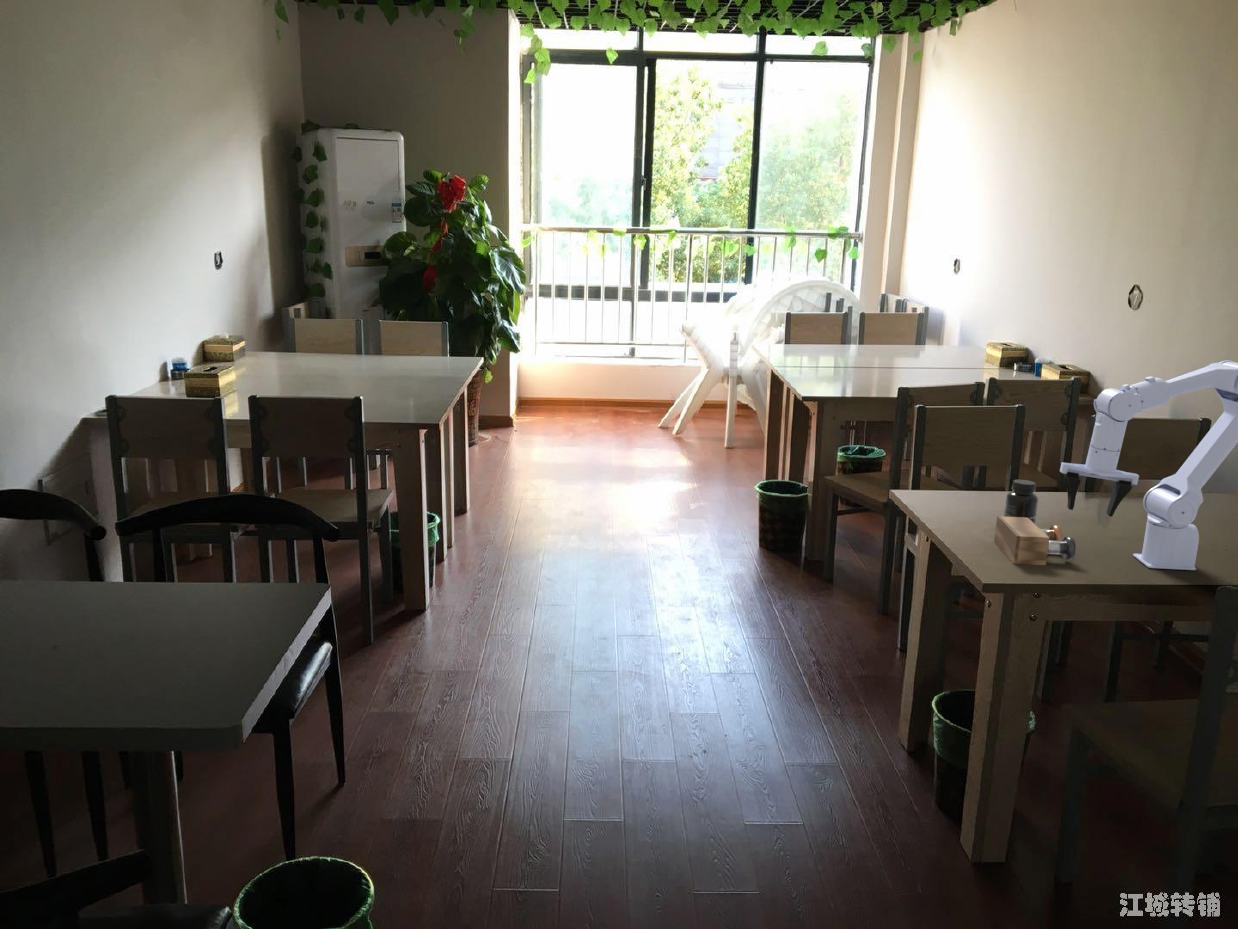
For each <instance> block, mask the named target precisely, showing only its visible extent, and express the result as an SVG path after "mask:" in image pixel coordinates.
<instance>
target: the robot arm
mask: <svg viewBox="0 0 1238 929" xmlns="http://www.w3.org/2000/svg"><path fill="white" fill-rule="evenodd" d="M1209 388H1213V389H1214V391H1215V393H1216V394H1217V396H1218V397H1219V400H1220V401H1221V403H1222V407H1223V412H1222V414H1221V415H1220V416H1219V418H1218V419H1217V420H1216V422H1215V423H1214V424H1213V425H1212V427H1211V428H1210V429H1209V431H1208V432H1207V433H1206V434H1205V436H1204V437H1203V438H1202V439H1201V441H1199V443H1198V445H1197V446H1196V447H1195V448H1194V449H1193V451H1192V452H1191V454H1190V455H1189V456H1188V457H1187V459H1186V460H1185V461H1184V462H1183V464H1181V465H1182V466H1180V467H1179V469H1178V470H1177V471H1176V472H1175V473H1174V474H1172V475H1170V476H1167V477H1164V478H1162V479H1161V481H1160V482H1159V483H1158V484H1156V485H1155V486H1153V487H1152V488H1150V489H1149V490H1148V491H1147V492H1146V493H1145V494H1144V497H1143V500H1142V505H1143V508H1144V510H1145V511H1146V513H1147V514H1146V518H1147V521H1146V525H1145V532H1144V538H1143V539H1144V540H1143V545H1142V551H1141V553H1133V557H1135V558H1136V559H1137V560H1138V561H1139V562H1141V563H1142V564H1143V565H1145V566H1146V567H1147V568H1149V569H1160V570H1161V569H1162V570H1163V569H1164V570H1182V571H1184V570H1186V571H1196V570H1197V568H1196V567H1195V565H1196V560H1197V554H1198V548H1199V543H1200V533H1199V530H1198V527H1197V526H1196V525H1195V524H1192V523H1193V522H1194V520H1195V519H1196V518H1197V514H1198V510H1199V509H1200V506H1201V505H1202V503H1203V502H1204V496H1203V493H1202V488H1203V487H1204V486H1205V484H1207V482H1208V481H1209V480H1210V478H1211V477H1212V476H1213V475H1214V473H1215V472H1216V471H1217V469H1219V467H1220V466H1221V464H1222V463H1223V462H1224V461H1225V460H1226V458H1227V457H1228V456H1229V454H1230V453H1231V452H1232V450H1233V449H1235V447H1236V445H1237V444H1238V362H1236V361H1233V360H1230V359H1228V360H1227V359H1226V360H1222V361H1220V362H1211V363H1210V364H1208V365H1207V366H1205V367H1204V366H1203V367H1202V368H1199V369H1196V370H1193V371H1190V372H1187V373H1185V374H1181V375H1179V376H1176V377H1173V378H1171V379H1167V380H1164V379H1163V378H1160V377H1154V376H1152V375H1150V376H1146V377H1145V378H1144V381H1140V382H1137V383H1132V384H1128V383H1126V384H1122V386H1121V387H1120V389H1117V388H1113V387H1112V388H1111V387H1110V388H1106V389H1103V390H1102V391H1101V392H1100V393H1099V394H1098V395H1097V398H1096V399H1094V400H1093V408H1094V410H1095V412H1096V414H1095V415H1096V416H1095V422H1094V426H1093V430H1092V435H1091V439H1090V444H1089V446H1088V447H1089V448H1088V452H1087V456H1086V461H1085V464H1082V463H1081V464H1080V463H1071V462H1063V461H1062V462H1061V463H1060V464H1061V465H1060V468H1059V472H1060V473H1061V474H1063V476H1064V481H1065V484H1066V491H1067V509H1068V510H1071V511H1073V510H1074V508H1075V502H1076V497H1077V492H1078V490H1079V486H1080V484H1081V479H1080V476H1083V477H1089V478H1096V479H1101V480H1106V481H1107V480H1108V481H1112V488H1111V495H1110V499H1109V503H1108V506H1107V510H1106V515H1107V516H1108V517H1113V516H1114V514H1115V512H1116V510H1117V508H1118V506H1119V505H1120V503H1121V502H1122V501H1123V500H1124V498H1125V497H1126V496H1127V495H1128V494H1129V493H1130V492H1131V491H1132V488H1133V485H1135V486H1137V485H1138V483H1139V478H1140V475H1139V474H1137V473H1134V472H1127V471H1124V470H1119V469H1117V467H1118V463H1119V459H1120V454H1121V451H1122V450H1121V449H1122V447H1123V442H1124V439H1125V438H1124V437H1125V435H1126V430H1127V425H1128V423H1129V422H1128V421H1130V420H1131V419H1133V418H1134V417H1135V416H1136V414H1138V413H1142V412H1146V411H1148V410H1152V409H1156V408H1158V407H1162V406H1165V405H1167V404H1168V403H1169V402H1170V400H1171V398H1172V397H1175V396H1180V395H1184V394H1188V393H1192V392H1196V391H1201V390H1205V389H1209Z"/></svg>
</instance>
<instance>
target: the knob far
mask: <svg viewBox="0 0 1238 929" xmlns="http://www.w3.org/2000/svg"><path fill="white" fill-rule="evenodd" d="M1040 529H1041V530H1042V531H1043V532H1044V533H1045V534H1046V535H1047V536H1048V537H1049V540H1050V541H1062V540H1063V539H1062V538H1063V532H1062V528H1061V526H1060V525H1050V527H1049V529H1048V528H1040Z"/></svg>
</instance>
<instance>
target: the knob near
mask: <svg viewBox="0 0 1238 929" xmlns="http://www.w3.org/2000/svg"><path fill="white" fill-rule="evenodd" d="M1062 538H1063V539H1062V540H1061V541H1050V540H1049V545H1048V552H1047V555H1061V556H1062V558H1063V559H1064V560H1073V559H1074V557H1075V555H1076V547H1077V546H1076V542H1075V541H1076V540H1075V539H1074V537H1072V536H1064V537H1062Z"/></svg>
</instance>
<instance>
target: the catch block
mask: <svg viewBox="0 0 1238 929" xmlns="http://www.w3.org/2000/svg"><path fill="white" fill-rule="evenodd" d="M1041 529H1042V528H1040V527H1039V526H1037V525H1036V523H1035V524H1034V523H1033V522H1032V521H1031V520H1030V519H1029V518H1026V517H1004V515H1002V516H998V515H997V517H996V523H995V532H994V540H993V542H995V543H996V544H997V545H996V544H995V543H994V544H995V545H996V546H997V547H998V546H999V547H1000V548H999V547H998V548H999V550H1001V551H1002V553H1003V552H1004V553H1005V554H1004V553H1003V554H1004V555H1005V556H1006V557H1007V558H1008V559H1009V561H1011V563H1012V564H1014V565H1033V566H1046V565H1047V558H1048V554H1047V552H1048V545H1049V537H1048V536H1047V535H1046V534H1045V533H1044V532H1043V531H1042V530H1041Z"/></svg>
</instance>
